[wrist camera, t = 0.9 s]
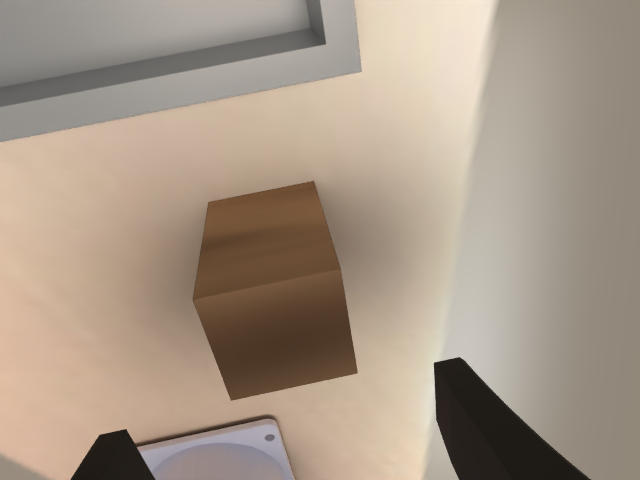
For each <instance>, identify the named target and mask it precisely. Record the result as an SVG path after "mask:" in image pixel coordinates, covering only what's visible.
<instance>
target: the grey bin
mask: <svg viewBox="0 0 640 480" xmlns="http://www.w3.org/2000/svg"><path fill="white" fill-rule="evenodd" d="M358 72H362V69H361V59H360V50H359V41H358V32H357V22H356V13H355V4H354V0H0V142H3V141H9V140H14V139H19V138H24V137H29V136H34V135H39V134H45V133H50V132H55V131H60V130H65V129H70V128H75V127H80V126H86V125H91V124H96V123H101V122H106V121H111V120H116V119H122V118H127V117H132V116H137V115H142V114H147V113H152V112H157V111H163V110H168V109H173V108H178V107H183V106H188V105H193V104H199V103H204V102H209V101H214V100H219V99H224V98H229V97H234V96H240V95H245V94H250V93H255V92H260V91H265V90H270V89H276V88H281V87H286V86H291V85H296V84H301V83H306V82H312V81H317V80H322V79H327V78H332V77H337V76H342V75H347V74H353V73H358Z"/></svg>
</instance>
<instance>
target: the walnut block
mask: <svg viewBox="0 0 640 480" xmlns="http://www.w3.org/2000/svg"><path fill="white" fill-rule="evenodd" d="M193 302H194V304H195V307H196V310H197V312H198V315H199V318H200V320H201V323H202V325H203V328H204V331H205V333H206V336H207V339H208V341H209V344H210V346H211V349H212V352H213V354H214V357H215V360H216V362H217V365H218V367H219V370H220V373H221V375H222V378H223V381H224V383H225V386H226V388H227V391H228V394H229V396H230V399H231V401H232V400H236V399H241V398H246V397H250V396H255V395H259V394H264V393H269V392H273V391H278V390H283V389H287V388H292V387H296V386H301V385H306V384H310V383H315V382H320V381H324V380H329V379H333V378H338V377H343V376H347V375H352V374H357V373H358V372H357V366H356V359H355V353H354V347H353V341H352V335H351V329H350V323H349V317H348V311H347V305H346V299H345V293H344V287H343V281H342V275H341V269H340V266H339V262H338V259H337V256H336V252H335V249H334V246H333V243H332V239H331V236H330V233H329V230H328V226H327V223H326V220H325V216H324V213H323V210H322V207H321V203H320V200H319V197H318V194H317V190H316V187H315V184H314V181H311V182H306V183H301V184H297V185H292V186H287V187H282V188H277V189H272V190H267V191H262V192H257V193H252V194H247V195H242V196H237V197H232V198H227V199H222V200H217V201H212V202H209V203H208V209H207V216H206V222H205V228H204V234H203V240H202V246H201V252H200V259H199V265H198V271H197V277H196V283H195V289H194V295H193Z"/></svg>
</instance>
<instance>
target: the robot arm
mask: <svg viewBox="0 0 640 480" xmlns="http://www.w3.org/2000/svg"><path fill="white" fill-rule="evenodd" d="M434 375H435V398H436V420H437V423H438V426H439V428H440V432H441V435H442V437H443V440H444V443H445V446H446V449H447V452H448V454H449V457H450V460H451V463H452V465H453V467H454V469H455V472H456V474H457V476H458V478H459V480H591V479H589V478H588V477H587V476H586V475H584V474H583V473H582V472H581V471H580V470H578V469H577V468H576V467H575V466H573V465H572V464H571V463H570V462H569V461H568V460H566V459H565V458H564V457H563V456H562V455H561V454H559V453H558V452H557V451H556V450H555V449H554V448H552V447H551V446H550V445H549V444H548V443H547V442H546V441H545V440H543V439H542V438H541V437H540V436H539V435H538V434H537V433H536V432H535V431H534V430H533V429H531V428H530V427H529V426H528V425H527V424H526V423H525V422H524V421H523V420H522V419H521V418H520V417H519V416H518V415H516V414H515V413H514V412H513V411H512V410H511V409H510V408H509V407H508V406H507V405H506V404H505V403H504V402H503V401H502V400H501V399H500V398H499V397H498V396H497V395H496V394H495V393H494V392H493V391H492V390H491V389H490V388H489V387H488V386H487V385H486V384H485V382H484V381H483V380H482V379H481V378H480V377H479V376H478V375H477V374H476V373H475V372H474V371H473V369H472V368H471V367H470V366H469V365H468V364H467V363H466V362H465V361H464V360H463V359H461V358H460V357H459V358H454V359H449V360H444V361H440V362H435V363H434ZM71 480H295V478H294V475H293V472H292V469H291V466H290V462H289V459H288V456H287V453H286V450H285V447H284V443H283V440H282V437H281V434H280V431H279V428H278V425H277V422H276V421H274V420H273V419H263V420H259V421H254V422H250V423H245V424H240V425H236V426H231V427H227V428H222V429H217V430H213V431H208V432H204V433H199V434H195V435H190V436H185V437H181V438H176V439H172V440H167V441H162V442H158V443H153V444H149V445H144V446H139V447H136V445H135V443H134V442H133V440H132V438H131V437H130V435H129V433H128V432H127V430H126V429H125V430H120V431H116V432H111V433H106V434H102V435H99V437H98V438H97V439H96V441H95V443H94V444H93V446H92V447H91V449H90V450H89V452H88V453H87V455H86V456H85V458H84V459H83V461H82V462H81V464H80V466H79V467H78V469H77V470H76V472H75V473H74V475H73V477H72V478H71Z"/></svg>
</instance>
